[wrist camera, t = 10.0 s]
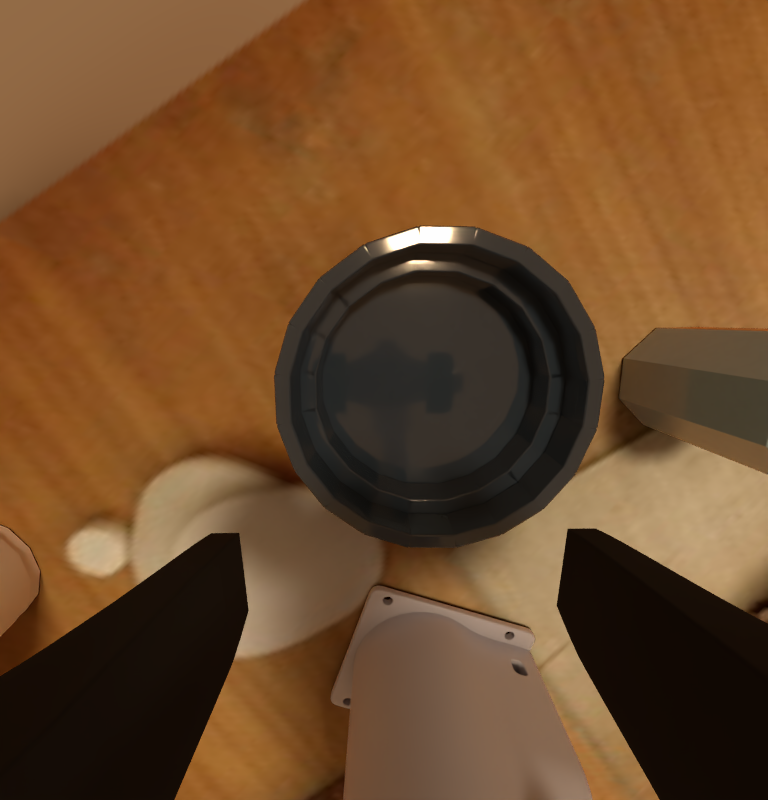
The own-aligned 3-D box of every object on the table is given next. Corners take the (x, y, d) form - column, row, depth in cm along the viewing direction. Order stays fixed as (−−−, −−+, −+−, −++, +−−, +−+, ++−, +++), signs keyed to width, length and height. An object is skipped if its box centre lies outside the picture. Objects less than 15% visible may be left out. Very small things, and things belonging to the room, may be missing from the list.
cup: (726, 326, 17) (957, 330, 10) (709, 423, 18) (909, 486, 11) (626, 328, 17) (790, 334, 10) (615, 425, 18) (757, 489, 11)
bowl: (596, 301, 17) (662, 296, 13) (495, 529, 19) (524, 583, 15) (342, 207, 16) (330, 171, 12) (269, 459, 18) (238, 497, 14)
